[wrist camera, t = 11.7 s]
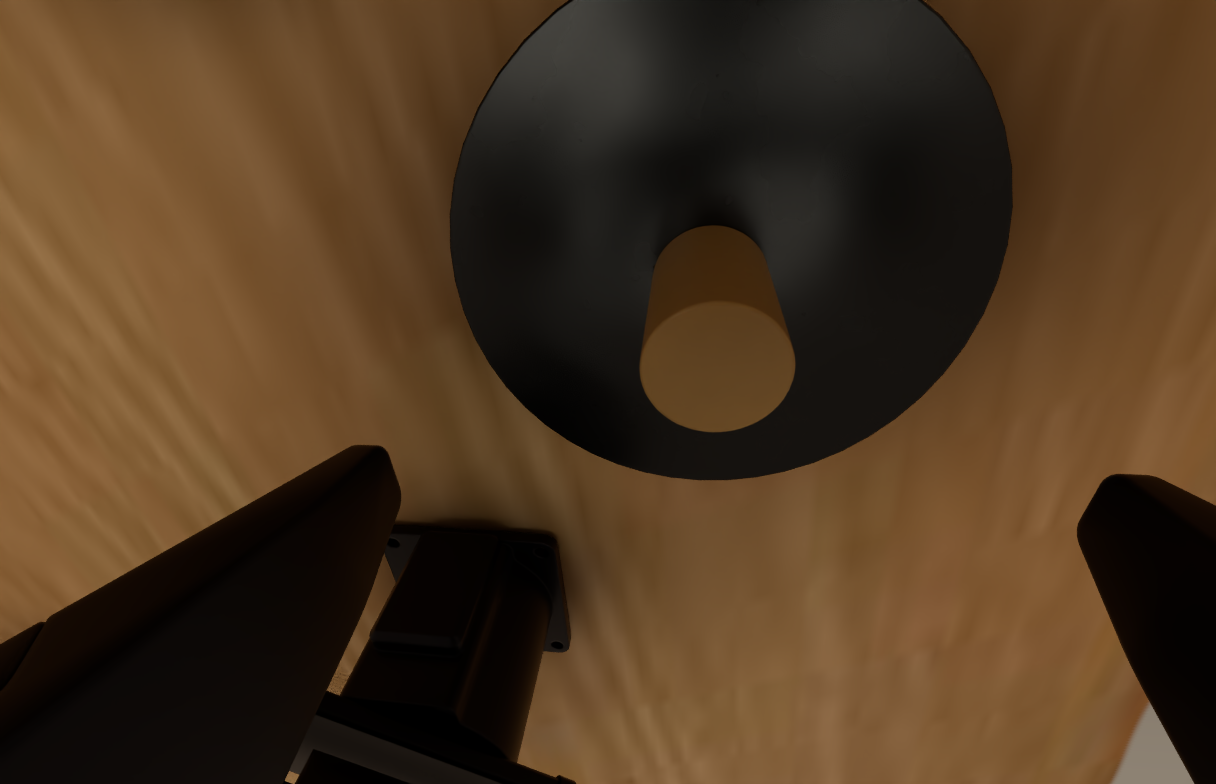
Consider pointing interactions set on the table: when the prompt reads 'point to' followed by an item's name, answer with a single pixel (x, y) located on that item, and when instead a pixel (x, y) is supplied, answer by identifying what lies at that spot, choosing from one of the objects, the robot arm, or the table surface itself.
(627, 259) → the lid
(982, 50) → the table surface
